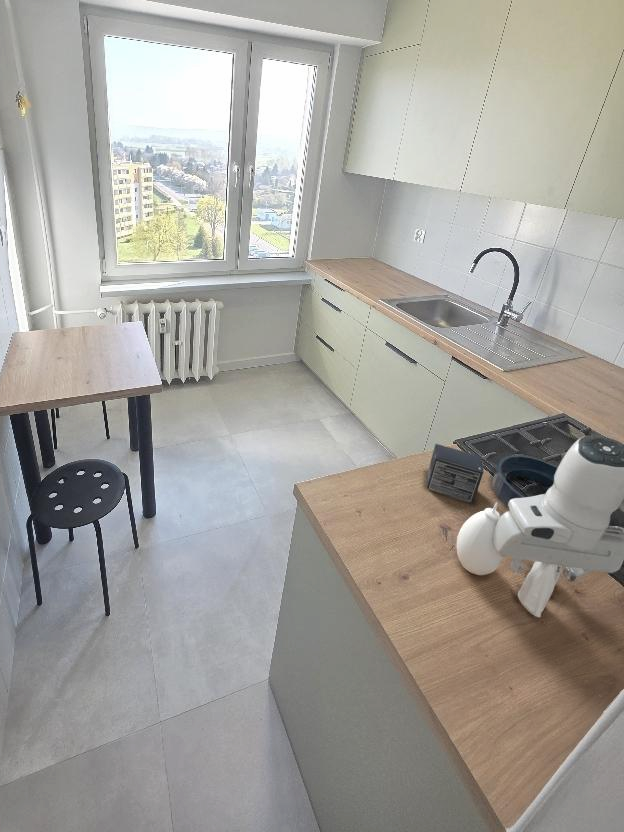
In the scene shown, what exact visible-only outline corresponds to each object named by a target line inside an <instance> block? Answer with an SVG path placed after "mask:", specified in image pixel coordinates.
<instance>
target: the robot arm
mask: <svg viewBox="0 0 624 832" xmlns="http://www.w3.org/2000/svg"><path fill="white" fill-rule="evenodd" d="M557 467H558V468H557V470H556V472H555V475H554V484H553V485H552V486H551V487H550V488H549V487H548V489H547V490H546V492H545V493H543V494H538V495H532V496H527V497H526V496H524V497H525V498H514V499H511V500H510V501H509V503H508V507H509V508H508V511H505V512H504V513H502V515H500V518H499V520H498V522H497V524H496V526H495V528H494V530H493V536H492V542H493V544H494V546H495V548H496V550H497V551H498V553H499V554H500V555H501V556H503V558H510V559H511V560H510V562H509V568H510V569H511V571H512V573H516V574H523V571H525V565H523V564H522V561H524V560H525V561H529V562H530V561H531V562H535V561H536V562H542V563H549V564H555V565H562V567H564V569H563V570H562V575H563V576H564V577H565V580H566V581H567V582H573V583H578V581H579V579H580V578H581V577H584V576H586V575H589V574H590V573H592V571H595V572H602V573H607V574H614V573H616V572H618V571H619V570H620V569H621V567H622V566H623V563H624V527H622V526H617V525H614V526H613V525H610V523H611V515H612V514H613V512H615V511H617V510H618V509H619V510H620V511H621V512H623V513H624V443H623V442H620V441H618V440H617V439H614V438H610V437H608V436H604V435H598V434H597V435H593V434H592V435H584V436H582V437H580V438H578V439H577V440H576V441H575V442H574V443H573V444H572V445H571V446H570V447H569V449H568V450H567V452H566V453H565V454H564V456H563V457H562V459H561V460H560V462H559V465H558V466H557Z"/></svg>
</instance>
